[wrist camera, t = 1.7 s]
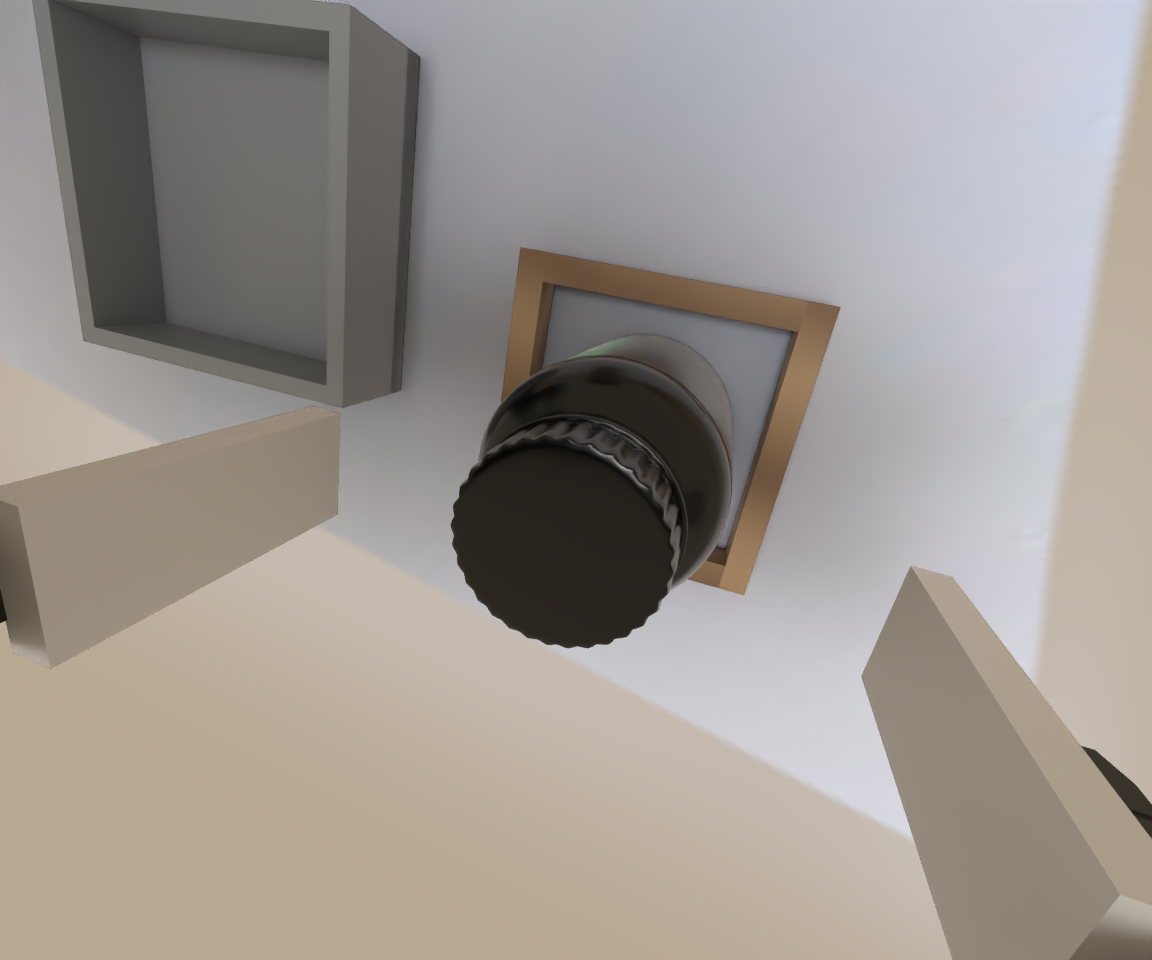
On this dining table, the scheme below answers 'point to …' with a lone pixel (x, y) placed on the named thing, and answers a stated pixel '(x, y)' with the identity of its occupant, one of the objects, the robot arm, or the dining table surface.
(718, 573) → the wooden square frame
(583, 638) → the supplement bottle
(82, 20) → the bin
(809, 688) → the dining table surface
